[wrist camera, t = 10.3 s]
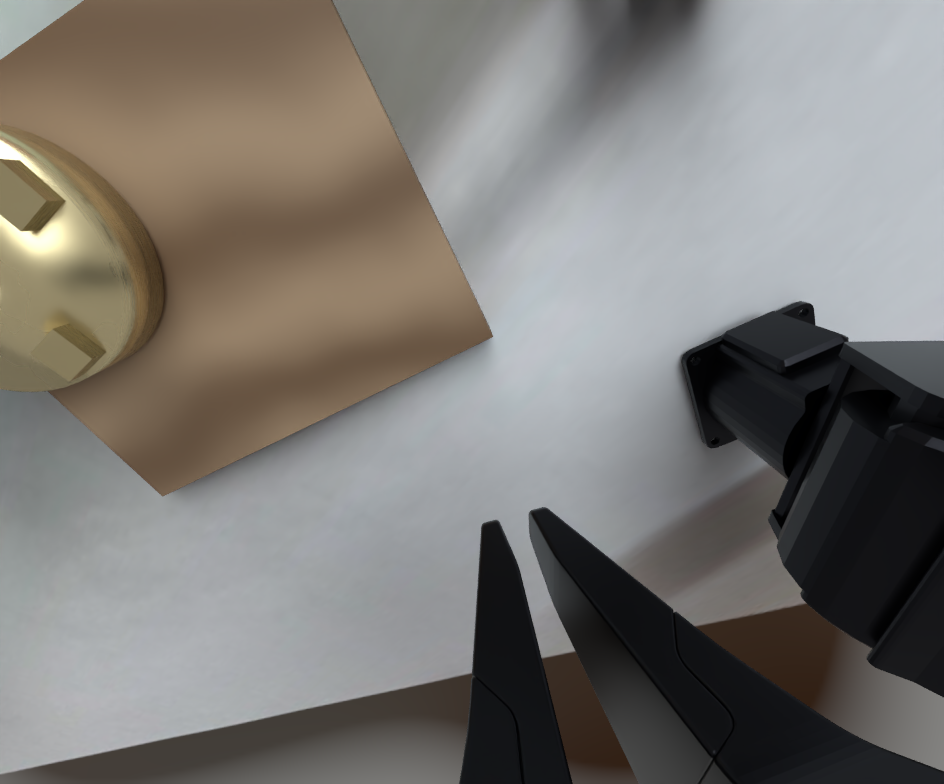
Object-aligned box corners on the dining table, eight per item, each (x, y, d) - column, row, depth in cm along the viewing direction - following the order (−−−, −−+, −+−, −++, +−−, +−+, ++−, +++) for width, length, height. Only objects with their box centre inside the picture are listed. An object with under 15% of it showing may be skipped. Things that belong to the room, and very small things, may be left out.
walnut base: (489, 327, 20) (493, 336, 19) (179, 478, 22) (162, 496, 21) (285, -97, 13) (267, -131, 12) (-124, 186, 16) (-177, 185, 14)
